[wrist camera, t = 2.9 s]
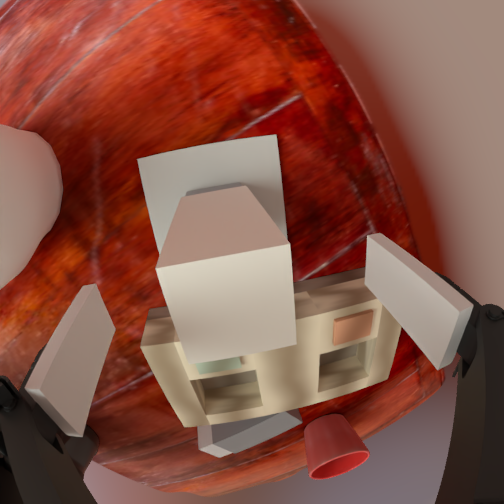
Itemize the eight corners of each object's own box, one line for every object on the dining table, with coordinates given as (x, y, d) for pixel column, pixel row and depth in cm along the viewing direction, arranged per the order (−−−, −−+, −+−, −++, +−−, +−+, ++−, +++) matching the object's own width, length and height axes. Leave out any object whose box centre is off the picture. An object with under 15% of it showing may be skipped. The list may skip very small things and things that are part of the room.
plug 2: (217, 434, 40) (220, 459, 35) (196, 424, 38) (197, 449, 33) (293, 396, 38) (302, 422, 34) (275, 382, 36) (284, 410, 32)
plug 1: (194, 243, 26) (188, 364, 12) (183, 189, 24) (155, 268, 10) (249, 233, 26) (296, 344, 13) (241, 179, 24) (290, 243, 10)
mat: (168, 279, 27) (167, 282, 27) (138, 158, 22) (137, 159, 22) (287, 258, 28) (289, 260, 28) (274, 134, 23) (276, 134, 23)
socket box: (184, 391, 34) (184, 430, 28) (149, 309, 28) (139, 350, 22) (368, 350, 36) (389, 381, 30) (379, 263, 31) (411, 291, 25)
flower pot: (287, 442, 44) (299, 484, 35) (307, 410, 40) (325, 458, 31) (336, 436, 46) (351, 473, 38) (360, 404, 43) (381, 445, 34)
